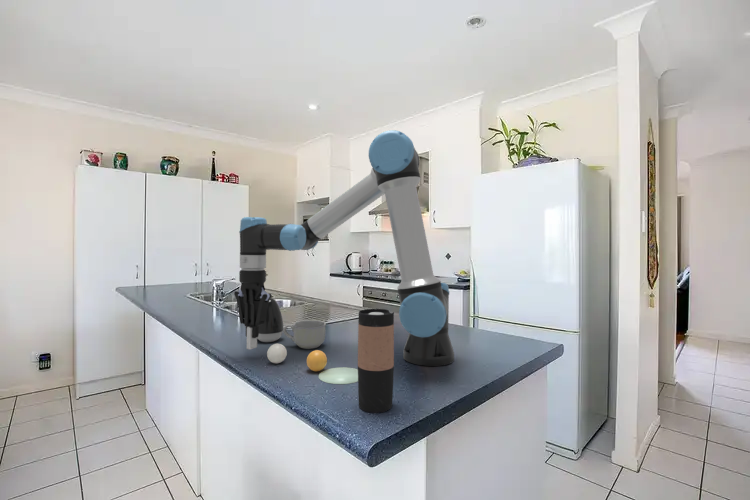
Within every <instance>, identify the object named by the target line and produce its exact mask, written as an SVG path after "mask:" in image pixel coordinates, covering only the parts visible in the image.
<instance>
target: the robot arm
mask: <svg viewBox="0 0 750 500" xmlns="http://www.w3.org/2000/svg"><path fill="white" fill-rule="evenodd" d="M370 143H371V144H370V146H369V148H368V161H369V163H370V165H371V167H372V168H371V170H370V173H369V174H368V175H367V176H365V177H364V178H363V179H361V180H360V181H358V182H357V183H356V184H355V185H353V186H352V187H350V188H349V189H348V190H346V191H345V192H344V193H342V194H340V195H339V196H338V197H336V198H335V199H334V200H333V201H331V202H330V203H328V204H327V205H326V206H325V207H323V208H322V209H320V210H319V211H318V212H316V213H314V214H313V215H312V216H310V218H308V219H307V220H306V221H304V222H303V223H301V224H294V223H287V224H279V223H278V224H269V223H268V222H267V219H266V218H265V217H258V216H257V217H256V216H253V217H252V216H246V217H245V216H244V217H242V218H241V219H240V226H239V232H238V233H239V269H240V270H239V273H238V274H239V275H238V276H239V277H238V278H239V281H238V282H240V283H241V285H240V289H239V290H235V291H234V292H233V293H234V297H235V299H236V304H237V311H238V312H237V313H238V316H239V323H240V324H243V325H244V327H245V337H246V350H253V349H256V348H257V347H258V339H257V337H258V336H259V334H258V333H259V326H260V325H263V324H264V323H265V318H266V313H267V308H268V303H269V300H270V298H272V293H269V292H267V291H266V287H265V282H266V280H267V271H266V269H265V268H267V250H268V251H269V250H272V251H273V250H275V251H290V252H292V251H294V252H295V251H300V250H301V251H309V250H311V249H313V248H315V247H316V246H317V245H318V244H319V241H320V240H322V239H323V238H324V237H326V236H328V235H329V234H330V233H332V232H333V231H334V230H336V229H337V228H338V227H340V226H342V225H343V224H344V223H346V222H347V221H349V220H350V219H352V218H353V217H354V216H356V215H357V214H359V213H360V212H361V211H362V210H364V209H365V208H367V207H368V206H370V205H371V204H372V203H374V202H375V201H377V200H378V199H379V198H381V197H382V196H384V195H385V200H386V206H387V211H388V216H389V221H390V226H391V232H392V236H393V242H394V247H395V248H394V249H395V253H396V259H397V264H398V269H399V274H400V279H401V280H400V281H401V282H400V283H399V284H398V286H397V293H398V298H399V304H400V305H399V310H398V317H399V321H400V323H401V325H402V327H403V328H404V331H406V332H408V335H407V338H406V342H405V344H404V347H403V352H402V353H403V359H404V360H405V361H406V362H407V363H410V364H414V365H418V366H425V367H427V366H428V367H438V366H447V365H450V364H452V363H454V361H455V351H454V348H453V344H452V341H451V338H450V334H449V317H450V316H449V313H450V311H449V306H450V304H449V303H450V302H449V296H450V289H449V284H447V283H445V282H441V279H440V278H438V277H437V276H436V275H434V270H433V266H432V261H431V255H430V251H429V250H430V249H429V246H428V239H427V235H426V229H425V223H424V220H423V215H422V210H421V205H420V199H419V195H418V189H417V186H418V185H419V183H420V182H421V180H422V179H421V174H420V169H419V167H420V156H419V153H418V151H417V150H416V148H415V147H414V142H413V141H412V139H411V138H410V137H409V136H408V135H407V134H405V133H404V132H403V131H399V130H395V129H394V130H393V129H392V130H389V129H388V130H385V131H383V132H381V133H380V134H378V135H376V137H374V139H373V140H372V142H370Z"/></svg>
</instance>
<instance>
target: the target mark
mask: <svg viewBox="0 0 750 500" xmlns="http://www.w3.org/2000/svg"><path fill="white" fill-rule="evenodd" d="M318 379H319V380H320V381H321V382H324V383H326V384H332V385H349V384H354V383H358V368H355V367H347V366H345V367H343V366H342V367H331V368H327V369H325V370H324V369H323V370H321V371H320V372H319V374H318Z"/></svg>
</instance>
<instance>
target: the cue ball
mask: <svg viewBox="0 0 750 500" xmlns="http://www.w3.org/2000/svg"><path fill="white" fill-rule="evenodd" d="M287 355H288V352H287V347H286V346H284V345H283V344H281V343H274V344H272V345H270V346H269V348H268V349H267V352H266V356H267V359H268V360H269V362H271V364H280V363H283V362H284V361H285V359H286V358H287Z"/></svg>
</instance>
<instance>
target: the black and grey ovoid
mask: <svg viewBox="0 0 750 500" xmlns="http://www.w3.org/2000/svg"><path fill="white" fill-rule="evenodd" d="M284 326H285V325H284V319H283V314H282V311H281V308H280V305H279V303H278V302H277V301H276V300H275V298H273V297H271V298H270V300H269V303H268V308H267V313H266V318H265V323H264V324H263V325H260V326H259V333H258V334H259V336H258V337H257V341H258V340H259V342H262V343H273V342H277V341H278V340H279V339H280V338H281V337H282V335H283V333H284V332H283V329H284Z"/></svg>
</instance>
